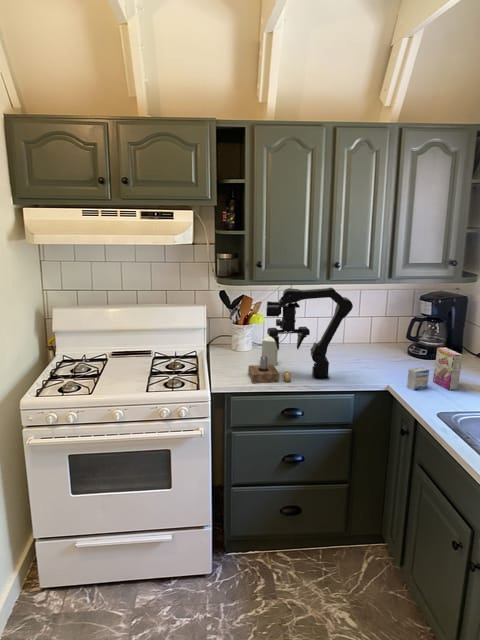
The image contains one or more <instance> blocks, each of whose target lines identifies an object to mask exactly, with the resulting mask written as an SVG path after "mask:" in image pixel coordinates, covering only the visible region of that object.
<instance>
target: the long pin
mask: <svg viewBox="0 0 480 640" xmlns="http://www.w3.org/2000/svg"><path fill="white" fill-rule="evenodd" d="M267 360H268V357H267V356H262V355H261V356H260V371H267Z"/></svg>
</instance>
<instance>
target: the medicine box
mask: <svg viewBox="0 0 480 640" xmlns="http://www.w3.org/2000/svg"><path fill="white" fill-rule="evenodd" d="M429 375H430V370H429V369H428V368H425V367H423V366H422V367H415V368H409V369H408V373H407V382H406V388H408V387H409V388H408V389H410V388H411V390H412V389H413V390H412V391H416V390H415V389H419V390H422V389H421V388H424V389H427V388H428V385H429Z"/></svg>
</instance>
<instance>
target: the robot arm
mask: <svg viewBox="0 0 480 640" xmlns="http://www.w3.org/2000/svg"><path fill="white" fill-rule="evenodd" d="M323 298H324V299H325V298H327V299H328V298H330V299H331V300H332V301H333V302H335V303H336V306H335V309H334V314H333V316H332V318H331V319H330V322H329V324H328V326H327V327H326V329H325V331H324V332H323V335H322V336H321V338H320V340H319V341H318V342H315V341H314V342H313V344H312V347H311V348H310V356H311V358H312V361H313V362H314V363H313V366H312V369H311V370H312V372H311V375H312V376H313V378H314V379H315V380H324V379H325V380H326V379H327V380H329V379H330V377H329V369H330V368H329V366H330V362H329V360H328V358H327V356H326V355H327V351H328V348H329V347H328V346H329V345H330V344H331V341H332V340H333V338H334V336H335V334H336V332H337V331H338V328H339V327H340V325H341V323H342V321H343V320H344V319H345V318H346V317H347V316H348V315H349V313H351V311H352V310H353V306H354V305H353V303H352V301H351V300H350V299H349V298H347V297H343V296H342V295H341V294H340V293H339V292H337V291H336V290H335V288H333V287H328V288H327V287H325V288H314V289H313V288H312V289H311V288H310V289H298V288H292V287H291V288H289V287H288V288H286V289H284V290H283V293H282V296H281V297H280V299H279V300H278V301H267V302H266V307H265V308H266V317H279V316H280V315H282V317H281V318H276V320H275V326H276V327H268V328H267V331H266V334H267V335H268V336H269V337H272V338H274V340H275V343H276V346H277V349H278V351H279V350H280V337H279V334H280V335H282V334H287V335H289V334H297V340H296V342H297V343H296V350H299V348H300V346H301V345H302V343H303V341H304V339H305V338H307V336H310V335H311V330H310V329H309V328H308V327H307V326H298V328H295V327H296V309H297V308H300V306H301V305H300V304H299V303H298V302H300V301H303V300H310V299H311V300H312V299H323ZM277 327H279V329H278V328H277Z"/></svg>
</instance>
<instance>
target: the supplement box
mask: <svg viewBox="0 0 480 640" xmlns="http://www.w3.org/2000/svg"><path fill="white" fill-rule="evenodd" d="M278 353H279V350H278V349H277V346H276V343H275V340H274V338H272V337H270V336H269V337H267V336H265V337H263V339H262V343H261V356H267V357H268V360H267V365H274V366H275V367H276V365H277V362H278Z"/></svg>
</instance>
